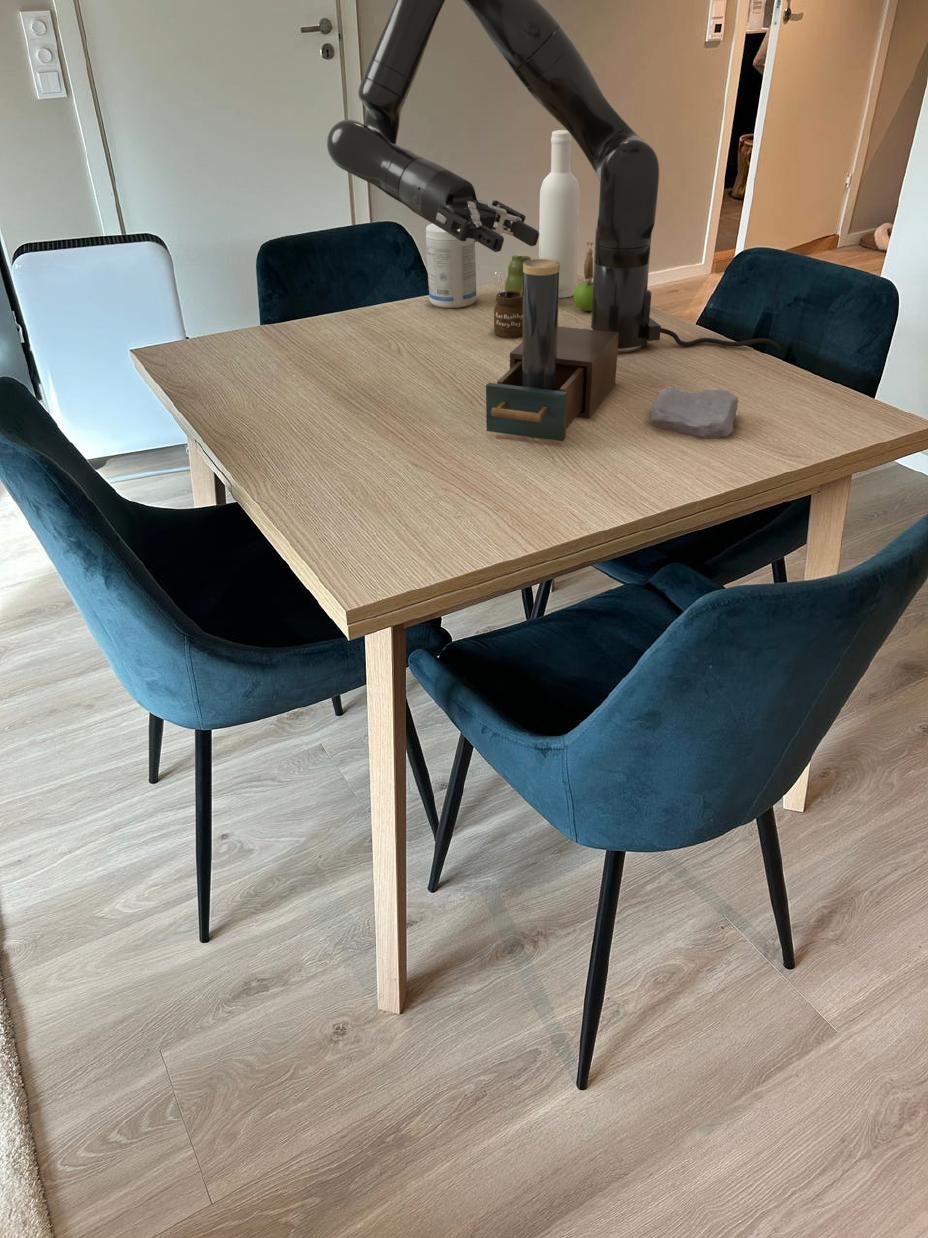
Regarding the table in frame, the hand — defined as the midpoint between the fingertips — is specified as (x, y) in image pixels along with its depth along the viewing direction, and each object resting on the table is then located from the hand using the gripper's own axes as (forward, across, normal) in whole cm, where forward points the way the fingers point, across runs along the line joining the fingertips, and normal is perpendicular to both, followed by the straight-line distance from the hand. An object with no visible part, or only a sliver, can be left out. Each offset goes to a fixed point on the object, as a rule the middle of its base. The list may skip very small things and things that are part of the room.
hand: (519, 242), depth 138 cm
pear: (-22, +43, +27) cm, 55 cm away
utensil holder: (-14, +28, +26) cm, 41 cm away
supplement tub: (-34, +38, +32) cm, 60 cm away
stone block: (+32, +9, +14) cm, 36 cm away
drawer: (+15, -6, +19) cm, 25 cm away
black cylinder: (+15, -5, +18) cm, 24 cm away
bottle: (-22, +55, +26) cm, 65 cm away
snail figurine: (-11, +48, +23) cm, 55 cm away
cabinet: (+12, +7, +20) cm, 24 cm away
